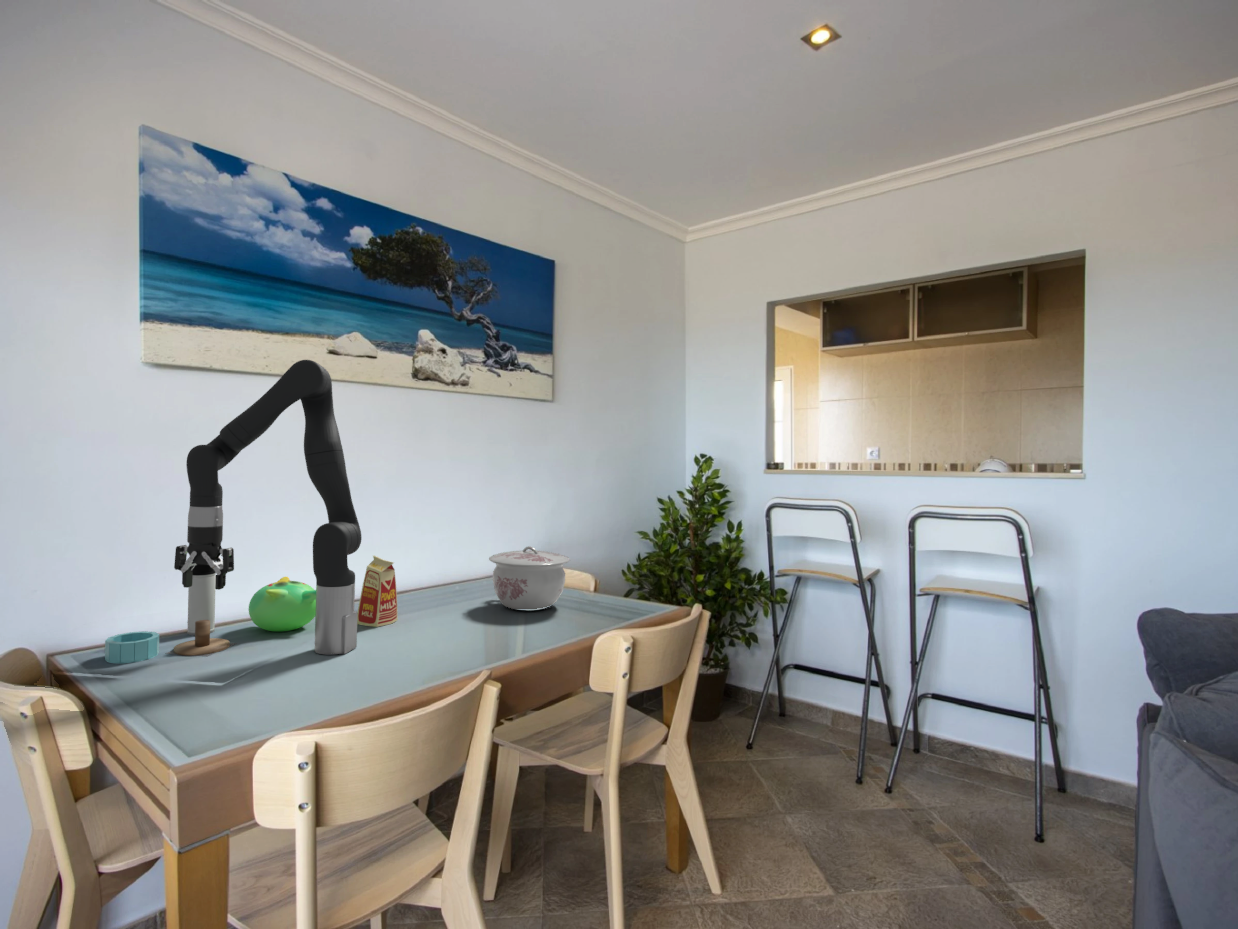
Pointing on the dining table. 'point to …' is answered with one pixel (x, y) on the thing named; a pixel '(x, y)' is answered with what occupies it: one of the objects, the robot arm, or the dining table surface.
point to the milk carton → (378, 595)
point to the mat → (199, 655)
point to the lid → (201, 642)
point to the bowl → (131, 647)
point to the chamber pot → (528, 578)
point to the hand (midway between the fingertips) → (203, 588)
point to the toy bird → (283, 605)
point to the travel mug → (201, 597)
